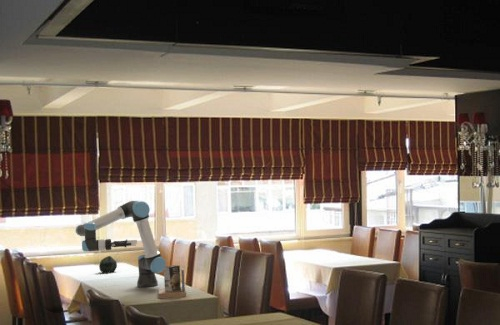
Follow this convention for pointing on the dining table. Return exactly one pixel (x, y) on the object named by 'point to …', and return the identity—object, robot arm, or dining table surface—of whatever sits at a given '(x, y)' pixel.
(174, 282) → the coffee box
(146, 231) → the robot arm
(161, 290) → the shelf plank
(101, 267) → the squash
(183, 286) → the bookend
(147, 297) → the dining table surface
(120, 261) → the dining table surface
